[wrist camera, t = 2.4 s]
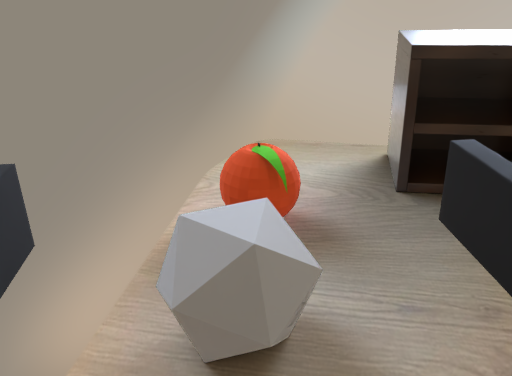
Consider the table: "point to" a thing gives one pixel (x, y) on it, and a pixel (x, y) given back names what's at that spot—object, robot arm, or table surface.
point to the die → (236, 278)
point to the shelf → (447, 101)
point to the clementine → (261, 177)
